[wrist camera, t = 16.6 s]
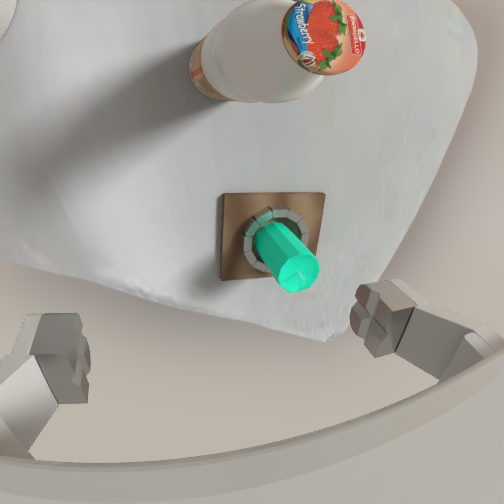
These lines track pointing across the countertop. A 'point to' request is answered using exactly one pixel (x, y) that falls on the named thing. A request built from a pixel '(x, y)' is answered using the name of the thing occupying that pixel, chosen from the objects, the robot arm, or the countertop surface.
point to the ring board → (248, 204)
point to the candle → (286, 257)
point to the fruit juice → (276, 50)
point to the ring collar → (262, 218)
